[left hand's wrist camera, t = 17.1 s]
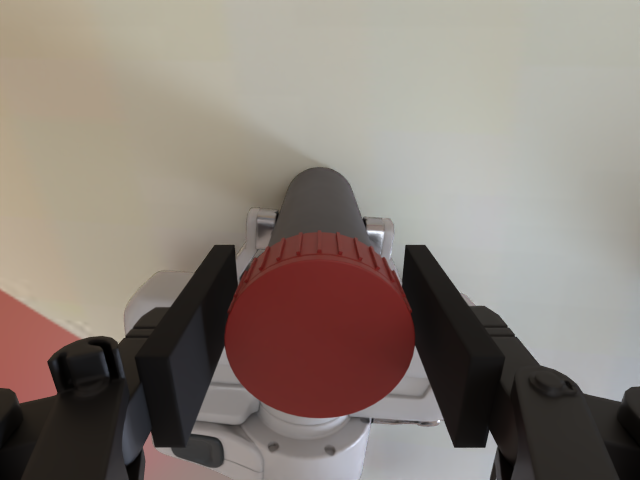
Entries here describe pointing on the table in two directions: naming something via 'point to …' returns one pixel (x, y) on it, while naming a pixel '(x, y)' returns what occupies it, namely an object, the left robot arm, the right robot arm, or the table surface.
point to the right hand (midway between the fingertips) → (320, 215)
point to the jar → (319, 207)
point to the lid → (319, 327)
